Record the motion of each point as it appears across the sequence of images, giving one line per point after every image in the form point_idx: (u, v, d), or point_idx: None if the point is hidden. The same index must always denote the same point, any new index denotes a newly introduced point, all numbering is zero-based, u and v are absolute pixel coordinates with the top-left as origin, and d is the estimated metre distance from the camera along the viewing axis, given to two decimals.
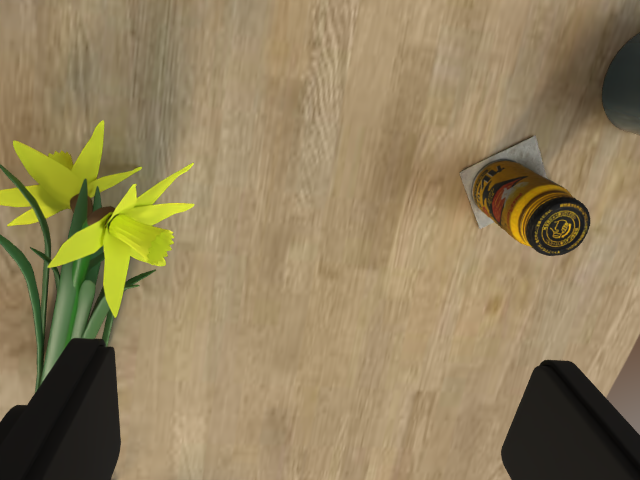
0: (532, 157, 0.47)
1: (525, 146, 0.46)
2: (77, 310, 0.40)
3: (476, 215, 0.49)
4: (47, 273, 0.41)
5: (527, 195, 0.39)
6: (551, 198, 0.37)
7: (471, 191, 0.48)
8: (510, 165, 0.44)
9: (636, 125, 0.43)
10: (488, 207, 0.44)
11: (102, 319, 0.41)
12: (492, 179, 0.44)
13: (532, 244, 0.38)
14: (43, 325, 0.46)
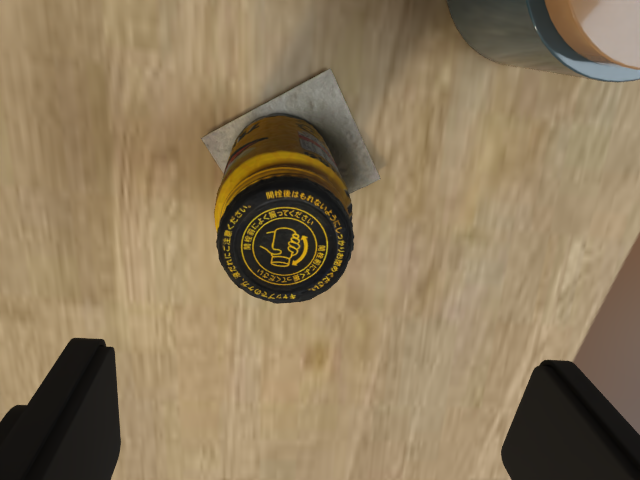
0: (332, 110, 0.26)
1: (315, 89, 0.26)
2: None
3: None
4: None
5: (235, 173, 0.18)
6: (260, 178, 0.17)
7: None
8: (268, 121, 0.24)
9: (494, 40, 0.22)
10: None
11: None
12: (234, 147, 0.24)
13: (232, 280, 0.17)
14: None
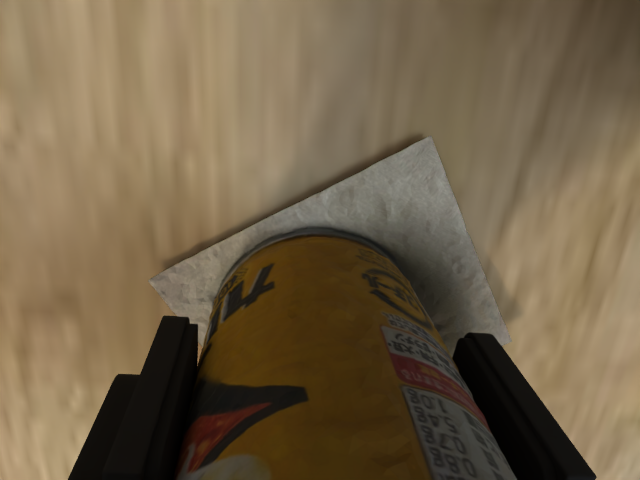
0: (428, 219, 0.12)
1: (394, 179, 0.12)
2: None
3: None
4: None
5: None
6: None
7: None
8: (298, 275, 0.10)
9: None
10: None
11: None
12: (214, 339, 0.10)
13: None
14: None
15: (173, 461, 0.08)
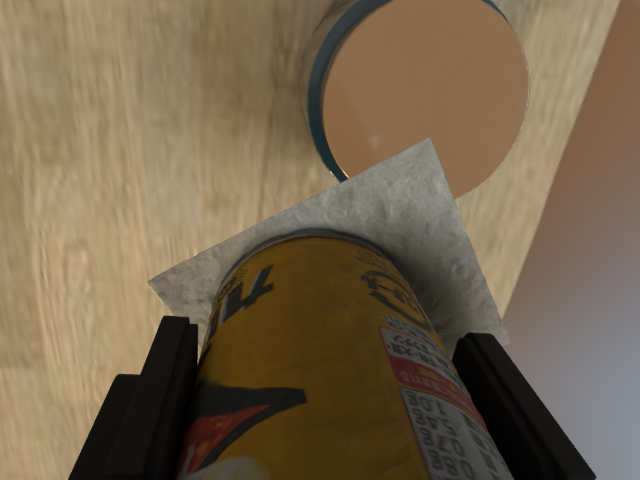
0: (428, 221, 0.12)
1: (393, 181, 0.12)
2: None
3: None
4: None
5: None
6: None
7: None
8: (296, 276, 0.10)
9: None
10: None
11: None
12: (213, 340, 0.10)
13: None
14: None
15: (173, 461, 0.08)
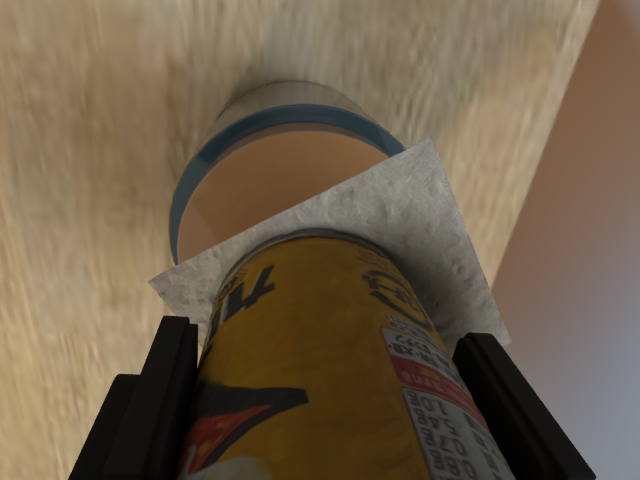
0: (428, 220, 0.12)
1: (395, 181, 0.12)
2: None
3: None
4: None
5: None
6: None
7: None
8: (298, 276, 0.10)
9: None
10: None
11: None
12: (215, 340, 0.10)
13: None
14: None
15: (173, 461, 0.08)
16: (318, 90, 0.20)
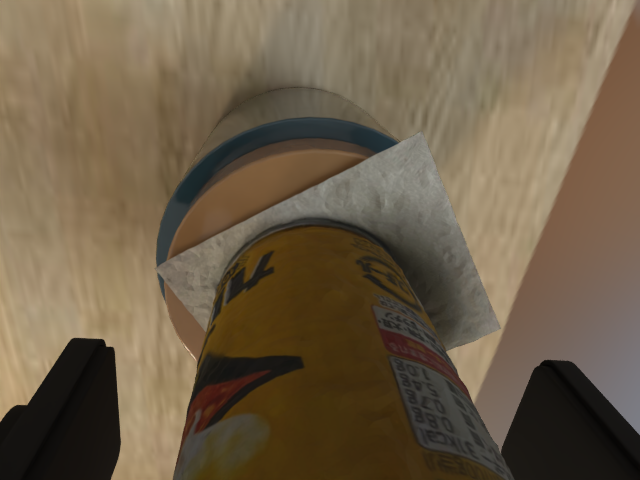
0: (420, 211, 0.13)
1: (388, 172, 0.12)
2: None
3: None
4: None
5: None
6: None
7: None
8: (295, 260, 0.10)
9: None
10: None
11: None
12: (218, 320, 0.10)
13: None
14: None
15: None
16: (326, 98, 0.18)
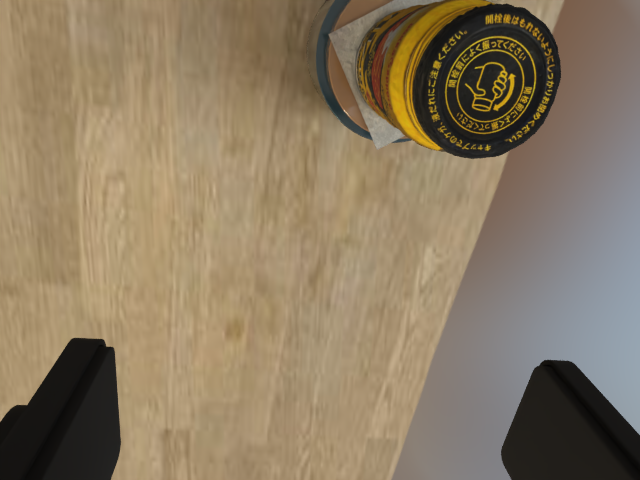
0: None
1: None
2: None
3: (368, 123, 0.28)
4: None
5: (422, 21, 0.17)
6: (468, 10, 0.16)
7: (355, 75, 0.26)
8: None
9: None
10: (369, 85, 0.22)
11: None
12: (378, 31, 0.23)
13: (426, 127, 0.16)
14: None
15: None
16: None
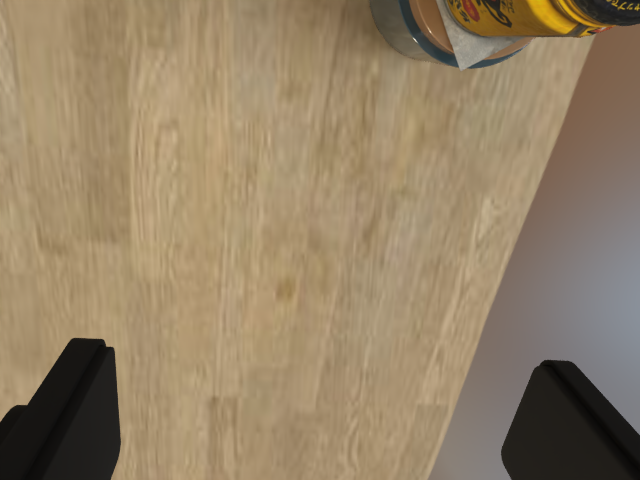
0: None
1: None
2: None
3: (452, 41, 0.26)
4: None
5: None
6: None
7: None
8: None
9: (398, 41, 0.32)
10: None
11: None
12: None
13: None
14: None
15: None
16: None
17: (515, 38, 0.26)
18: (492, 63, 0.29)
